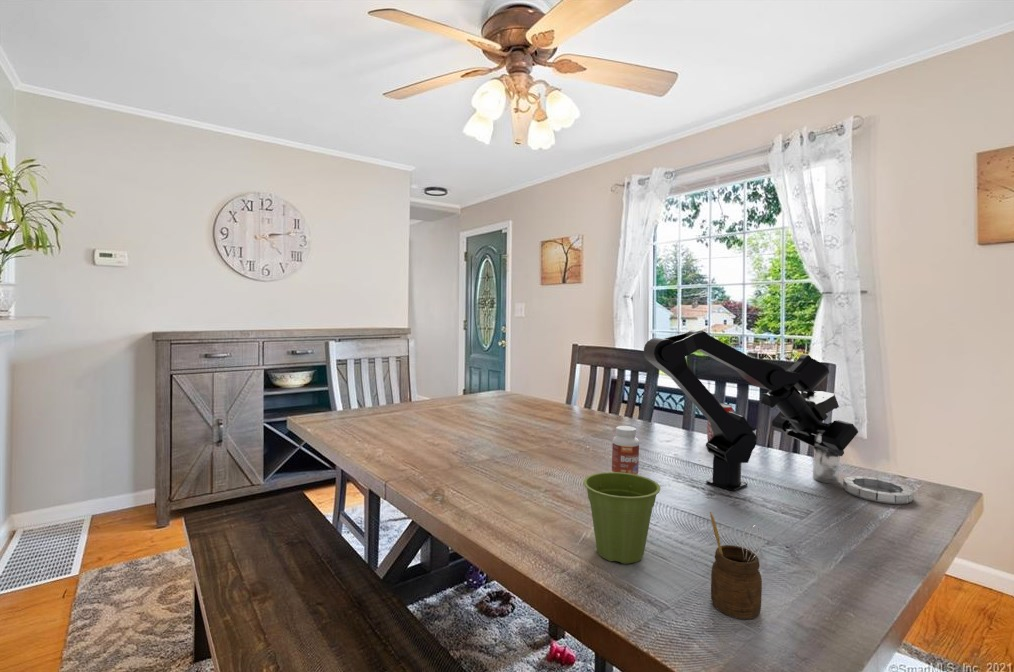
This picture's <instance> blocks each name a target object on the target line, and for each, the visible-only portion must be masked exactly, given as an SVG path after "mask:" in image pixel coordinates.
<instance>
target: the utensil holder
mask: <svg viewBox="0 0 1014 672" xmlns="http://www.w3.org/2000/svg"><path fill="white" fill-rule="evenodd" d="M709 514H710V519H711V525H712V530H713V533H714V536H715V539H716V543H717V548H716V549H715V552H714V561H713V564H712V567H711V575H710V576H711V578H710V579H711V580H710V597H711V598H710V599H711V602H712V604H713V606H714V607H715V608H716V609H717V610H718V611H720V612H721V613H723V615H727V616H728V617H731V618H735V619H740V620H751V619H754V618H756V617H758V616H759V615H760V612H761V608H762V595H763V593H762V592H763V586H762V585H763V581H762V580H763V579H762V575H761V572H760V571H759V569H760V560H759V557H758V554H759V552H760V551H761V548H762V544H763V541H761V543H760V546H759V548H758V551H757V552H756V553H755V552H754V551H755V548H756V543H757V540H758V536H759V533H756V538H755V543H754V546H753V548H752V550H749V549H748V546H749V545H748V544H749V539H750V535H751V532H752V530H753V529H754V528H755V527H756V529H757V532H759V531H760V532H761V540H763V538H764V532H763V530H762V528H761V527H759V526H758V525H755V524H748V525H747V526H746V527H745V529H744V532H743V534H742V538H741V546H738V545H731V544H723V545H721V541H720V539H721V537H720V534H719V531H718V527H717V524H716V519H715V517H714V515H713V514H712V511H710V512H709ZM749 527H751V528H750V531H749V533H748V534H749V535H748V537H747V542H746V547H744V543H743V541H744V535H745V533H746V530H747V529H748V528H749Z"/></svg>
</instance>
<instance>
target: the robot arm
mask: <svg viewBox="0 0 1014 672" xmlns="http://www.w3.org/2000/svg"><path fill="white" fill-rule="evenodd" d="M697 351H698V352H700V353H703V355H706V356H708V357H710V358H712V359H714V360H716V361H717V362H719V363H722V364H723V365H726V366H727V367H729V368H731V369H732V370H734V371H736V372H737V373H738V374H739V375H740V376H741V378H743V379H744V380H745V381H747V383H749V384H750V385H751V386H754V387H757V388H761V389H764V390H768V391H767V393H762V398H761V401H760V404H762V405H763V406H766V407H768V408H771V409H772V408H774V407H776V408H777V409H778V411H779V412H778V414H777V415H776V416H775V417H774V418H773V419H772V421H771V426H772V428H773V429H774V430H775V432H779V433H781V434H785V433H786V434H787V436H788V437H791V438H794V439H796V440H798V441H799V442H802V443H804V444H806V445H808V446H811V447H813V448H814V438H815V435H818V434H819V433H822V442H821V443H820V444H819V445H820V446H822V447H823V448H825V449H827V450H829V451H831V452H833V453H835V454H837V455H839V456H840V457H843V456H844V455H845V451H844V450H845V449H846V448H847V447H848V445H849V444H850V443H851V442H852V440H853V439H854V438H855V437H856V436H857V434H859V430H858V428H857V427H856V426H855V424H854V423H852V422H846V421H842V420H840V419H839V420H833V421H832V422H831V421H830V422H829V423H825V422H823V421H826V420H827V419H828V418H829V416H828V415H827V414H828V413H830V412H832V411H833V410H836V409H838V408H840V405H839V403H838V400H837V396H836V394H835V393H834V392H828V391H822V390H821V391H818V390H815V388H816V387H817V386H819V384H821V383H822V381H824V380H825V379H826V377H827V376H829V375H830V369H829V368H828V367H827V366H826V365H825V364H822V363H821V362H820V361H818V360H817V359H815V358H812V357H811V355H810V354H803V353H802V354H800V356H799V357H798V358H797V360H796V361H795V362H794V363H793V364H792V365H791V366H790V367H789V368H788V369H785V368H784V367H783V366H781V365H779V364H776V363H773V362H770V361H766V360H761V359H758V358H756V357H755V358H754V357H751V356H750V355H747V354H746V353H743V352H742V351H740V350H738V349H737V348H734V347H733V346H731V345H729V344H726V343H725V342H723V341H721V340H720V339H717V338H715V337H713V336H711V335H710V334H708V332H706V331H704V330H700V329H699V330H695V329H694V330H693V329H692V330H689V331H686V332H684V333H680V334H676V335H672V336H668V337H664V338H658V337H657V338H656V337H654V338H651V339H649V340H648V341H647V342H646V343H645V344H644V347H643V353H642V354H643V357H644V358H645V360H646V361H647V362H649V363H650V364H651V365H652V366H653V367H655V368H656V369H657V370H659V371H660V372H662V373H664V374H665V375H666V376H668V377H669V378H671V380H672V381H673V382H674V383H675V384H676V386H678V387H679V389H680V390H681V391H682V393H684V395H686V397H687V398H688V399H689V400H690V401H691V403H692V404H694V406H695V407H696V408H697V410H698V411H700V413H701V415H703V416H704V417H705V418H706V419H707V422H708V421H709V422H710V425H711V428H712V431H713V433H714V436H713V437H712V438H711V439H710V440H709V441H708V440H707V441H706V443H705V447H706V450H707V452H708V453H710V454H712V455H713V456H712V457H713V458H712V459H713V460H712V477H711V478H709V479H706V480H705V483H706V484H710V485H712V486H716V487H718V488H722V489H726V490H727V491H728V490H729V491H737V490H739V489H742V488H744V487H747V486H748V482H745V481H742V463H743V464H746V463H749V461H750V458H751V456H752V453H753V450H754V449H755V448H756V446H757V440H758V437H757V435H756V433H755V431H756V429H755V428H754V427H752V426H751V425H750V423H749V422H748V420H747V419H746V418H745V416H743V415H740V414H737V413H735V412H734V413H732V412H729V411H728V413H727V411H726V410H725V409H724V408H723V407H722V406H721V404H720V403H721V402H719V401H718V400H717V399H716V397H715V396H714V395H713V394H712V393H711V392H710V390H709V389H708V388H707V387H706V386H705V385H704V384H703V383H702V381H701V380H700V379H699V378H698V377H697V375H696V374H695V373H694V372H693V371H692V370H691V369H690V367H689V365H688V361H687V358H686V357H688V356H690V355H691V354H694V353H695V352H697Z"/></svg>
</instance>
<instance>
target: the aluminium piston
mask: <svg viewBox="0 0 1014 672" xmlns="http://www.w3.org/2000/svg"><path fill="white" fill-rule="evenodd" d="M821 442H822V433H819V434H818V435H815V438H814V447H813V464H812V465H813V468H812V469H813V470H812V479H813V480H814V481H816V482H819V483H824V484H831V485H834V484H835V485H836V484H839V483H840V460H841V458H840V457H841V456H839V455H837V454H835V453H833V452H831V451H829V450H827V449H825V448H823V447H822V446H820V445H819V444H820V443H821Z"/></svg>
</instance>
